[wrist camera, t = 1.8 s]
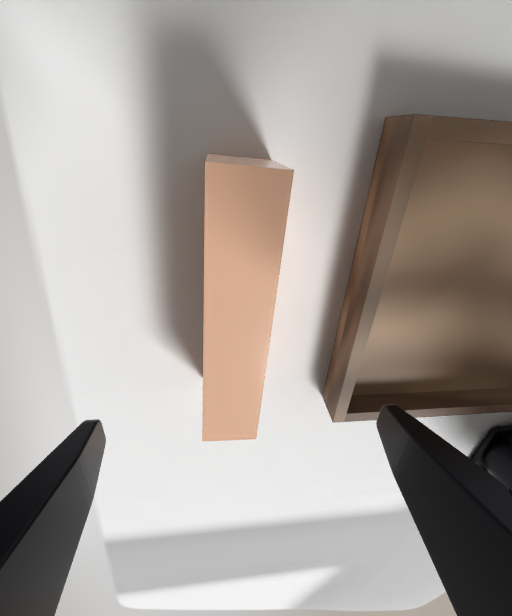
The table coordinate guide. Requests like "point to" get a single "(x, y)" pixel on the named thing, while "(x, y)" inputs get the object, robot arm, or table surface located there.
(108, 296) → the table surface
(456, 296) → the tray
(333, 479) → the table surface
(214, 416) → the light brown rectangular block
